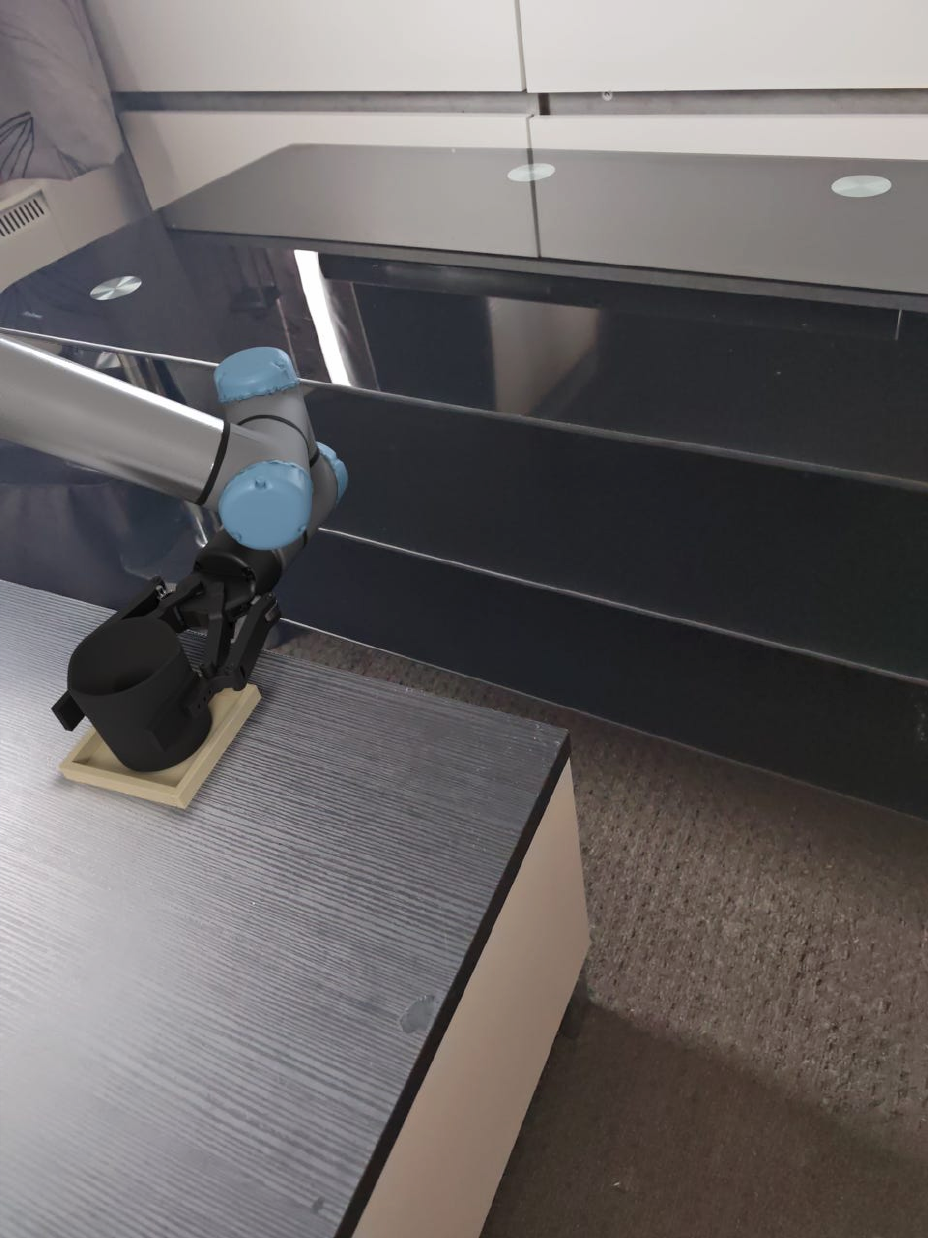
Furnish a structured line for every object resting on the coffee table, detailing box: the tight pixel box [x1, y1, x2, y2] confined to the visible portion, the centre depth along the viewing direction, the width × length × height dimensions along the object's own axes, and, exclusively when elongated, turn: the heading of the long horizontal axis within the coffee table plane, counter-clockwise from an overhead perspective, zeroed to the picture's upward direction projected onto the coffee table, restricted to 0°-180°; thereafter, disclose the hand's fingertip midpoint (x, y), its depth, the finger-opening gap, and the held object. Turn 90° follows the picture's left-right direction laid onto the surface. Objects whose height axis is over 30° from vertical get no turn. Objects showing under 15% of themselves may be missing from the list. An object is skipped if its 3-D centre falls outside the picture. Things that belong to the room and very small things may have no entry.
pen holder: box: [66, 617, 212, 772], centre depth 78 cm, size 9×9×10 cm
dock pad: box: [58, 673, 263, 810], centre depth 81 cm, size 13×13×2 cm
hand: (107, 730), depth 74 cm, fingers closed on pen holder, 9 cm apart
